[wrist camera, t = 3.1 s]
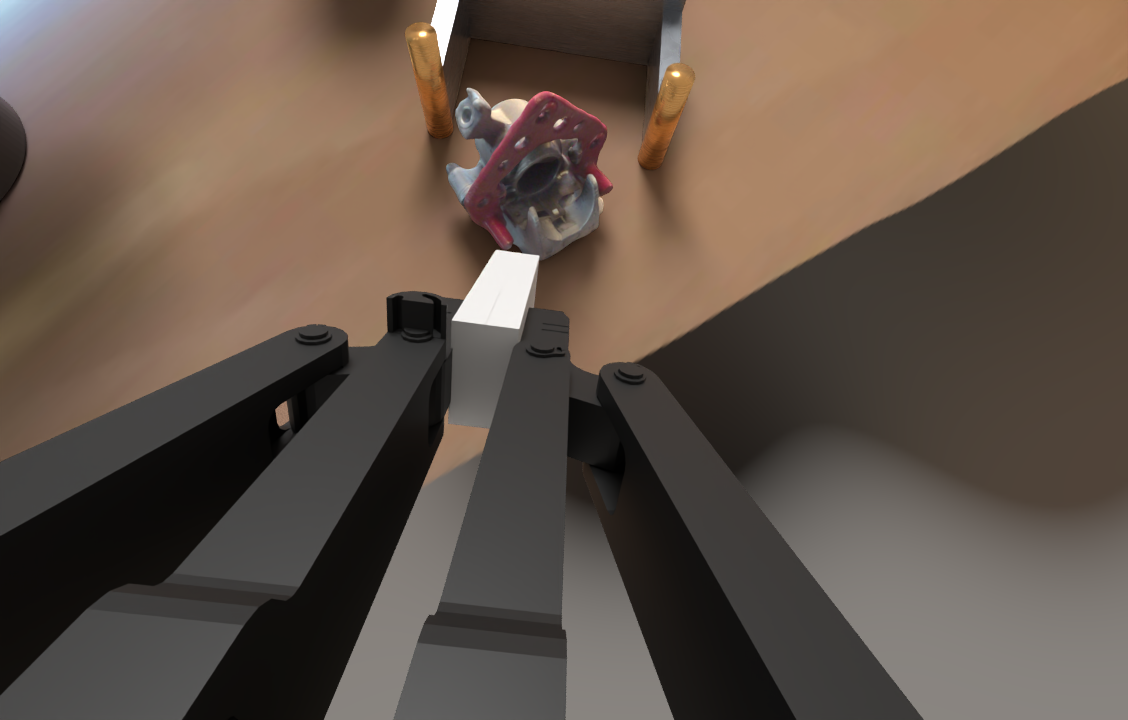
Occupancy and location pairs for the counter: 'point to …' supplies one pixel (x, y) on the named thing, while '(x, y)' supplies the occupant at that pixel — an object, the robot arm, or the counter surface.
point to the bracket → (566, 24)
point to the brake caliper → (531, 171)
